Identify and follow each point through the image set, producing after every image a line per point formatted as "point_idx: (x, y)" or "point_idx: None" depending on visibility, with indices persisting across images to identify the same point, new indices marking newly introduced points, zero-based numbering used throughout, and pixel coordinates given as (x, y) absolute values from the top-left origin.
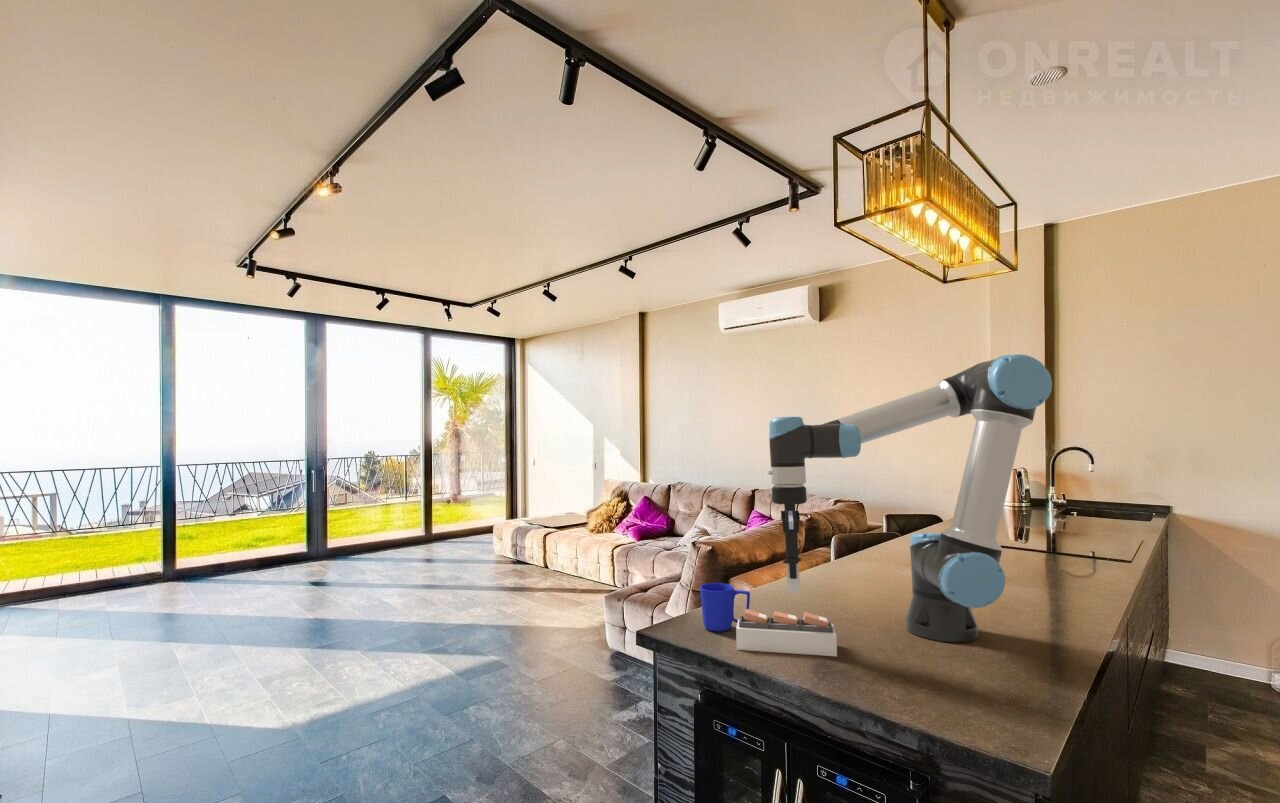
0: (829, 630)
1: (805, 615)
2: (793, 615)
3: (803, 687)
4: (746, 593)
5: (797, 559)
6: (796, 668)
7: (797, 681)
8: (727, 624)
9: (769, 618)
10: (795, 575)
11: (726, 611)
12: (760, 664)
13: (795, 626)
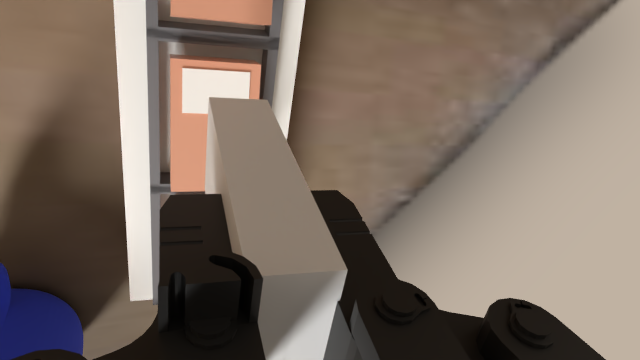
0: None
1: (259, 21)
2: (183, 81)
3: (549, 50)
4: None
5: (565, 340)
6: (416, 54)
7: (509, 63)
8: (55, 310)
9: (166, 190)
10: (356, 219)
11: None
12: (377, 166)
13: (275, 69)
